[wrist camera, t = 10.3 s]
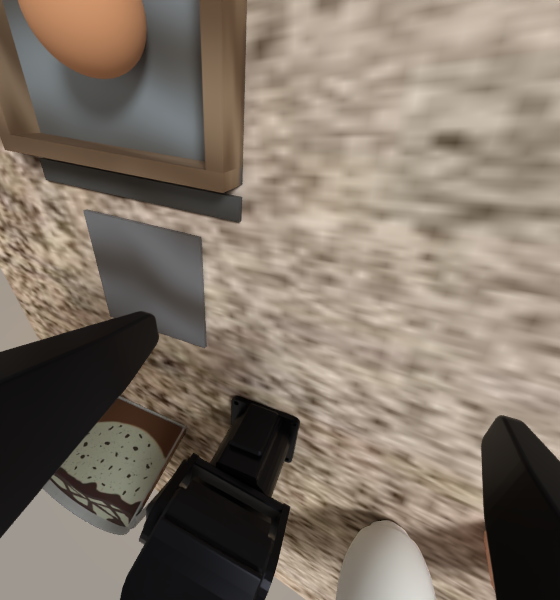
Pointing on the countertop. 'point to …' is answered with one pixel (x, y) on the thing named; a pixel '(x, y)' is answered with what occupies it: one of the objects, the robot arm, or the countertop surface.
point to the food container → (116, 467)
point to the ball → (90, 33)
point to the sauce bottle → (384, 566)
